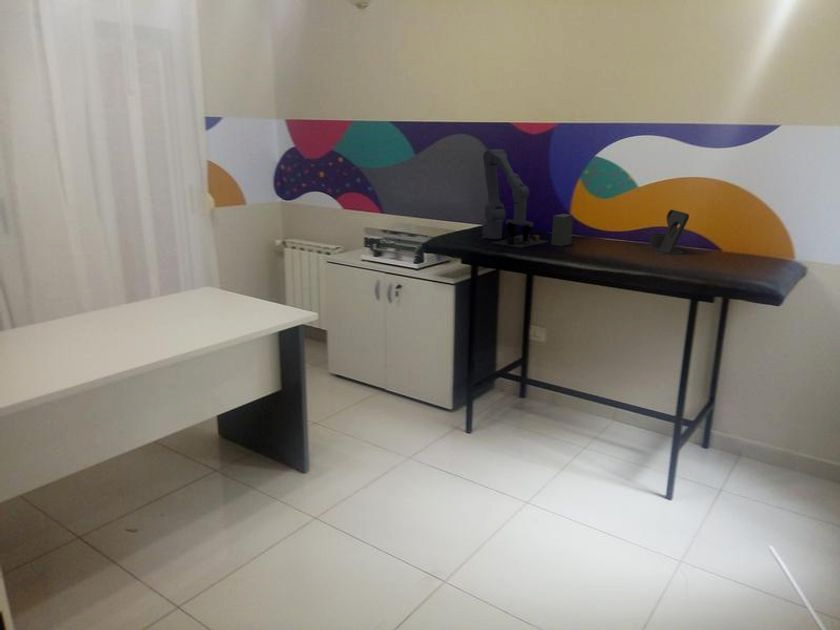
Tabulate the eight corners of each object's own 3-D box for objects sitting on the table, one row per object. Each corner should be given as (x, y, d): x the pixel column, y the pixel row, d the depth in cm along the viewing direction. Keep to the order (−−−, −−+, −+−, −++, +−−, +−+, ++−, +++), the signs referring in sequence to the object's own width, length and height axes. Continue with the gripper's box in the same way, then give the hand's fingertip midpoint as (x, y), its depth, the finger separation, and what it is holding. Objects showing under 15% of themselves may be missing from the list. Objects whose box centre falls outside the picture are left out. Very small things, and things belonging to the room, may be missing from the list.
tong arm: (509, 244, 289) (509, 238, 288) (524, 240, 298) (525, 235, 297) (511, 244, 288) (511, 238, 288) (526, 241, 297) (526, 235, 297)
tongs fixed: (506, 244, 290) (506, 237, 289) (526, 240, 301) (526, 233, 301) (510, 245, 289) (511, 238, 288) (530, 240, 300) (530, 234, 299)
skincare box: (561, 244, 296) (563, 213, 292) (571, 246, 292) (574, 214, 287) (550, 246, 291) (552, 214, 287) (560, 248, 286) (562, 216, 282)
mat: (490, 244, 295) (490, 242, 294) (519, 238, 311) (519, 236, 311) (520, 249, 283) (520, 247, 282) (549, 242, 299) (549, 241, 299)
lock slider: (531, 240, 300) (532, 235, 299) (535, 239, 302) (535, 234, 301) (535, 240, 298) (536, 236, 298) (539, 239, 300) (539, 235, 300)
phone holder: (647, 247, 290) (652, 209, 285) (668, 246, 291) (672, 209, 285) (664, 254, 273) (669, 214, 268) (686, 254, 274) (691, 213, 269)
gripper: (502, 211, 293) (501, 239, 297) (527, 214, 283) (526, 243, 287) (511, 209, 298) (510, 237, 302) (536, 212, 288) (534, 241, 292)
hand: (518, 240), depth 295 cm, fingers open, 7 cm apart
